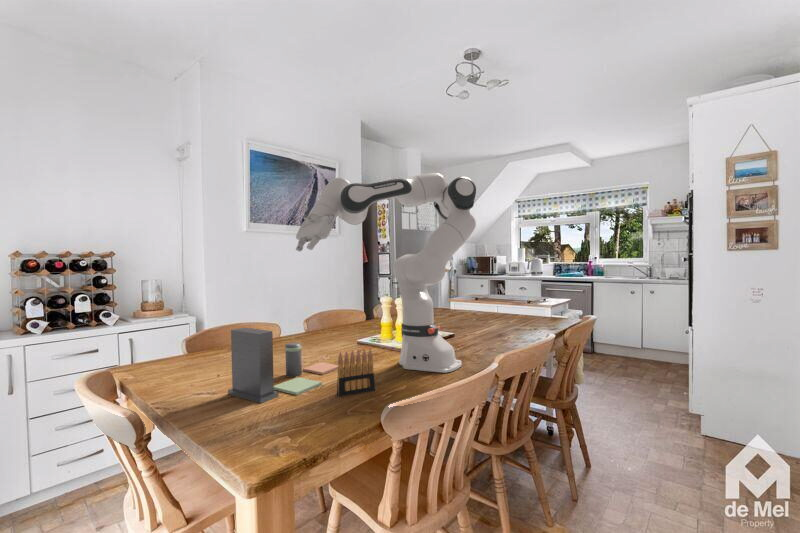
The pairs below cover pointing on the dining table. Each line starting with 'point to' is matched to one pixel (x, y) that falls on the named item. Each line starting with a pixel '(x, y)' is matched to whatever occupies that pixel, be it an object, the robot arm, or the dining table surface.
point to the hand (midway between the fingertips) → (303, 249)
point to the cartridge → (293, 359)
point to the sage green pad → (297, 386)
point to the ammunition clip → (355, 374)
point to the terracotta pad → (321, 368)
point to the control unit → (252, 364)
